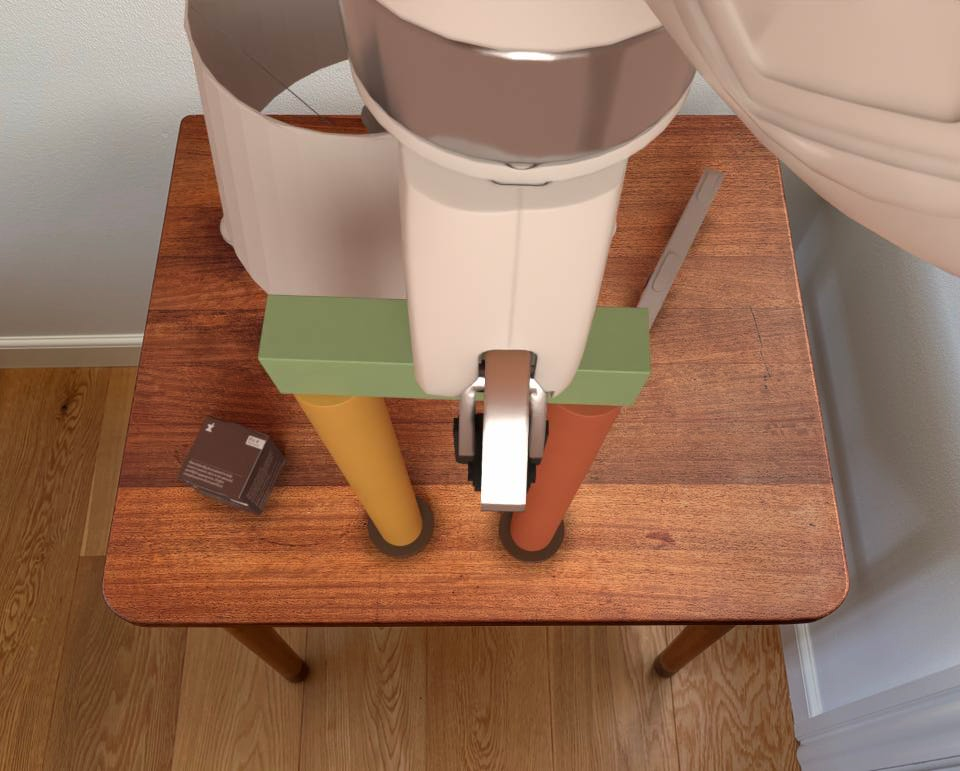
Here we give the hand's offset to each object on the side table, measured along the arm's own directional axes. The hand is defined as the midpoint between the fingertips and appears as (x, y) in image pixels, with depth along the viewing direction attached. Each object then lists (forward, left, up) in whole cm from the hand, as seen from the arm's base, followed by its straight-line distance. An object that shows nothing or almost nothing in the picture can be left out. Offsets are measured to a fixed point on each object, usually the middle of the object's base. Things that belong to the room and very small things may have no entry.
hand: (500, 342), depth 31 cm
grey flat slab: (+28, -18, -42) cm, 54 cm away
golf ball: (+30, +27, -42) cm, 59 cm away
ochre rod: (0, +8, -42) cm, 43 cm away
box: (+4, +23, -42) cm, 48 cm away
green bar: (+1, +2, -4) cm, 5 cm away
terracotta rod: (0, -4, -42) cm, 42 cm away
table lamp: (+21, +8, -42) cm, 48 cm away
